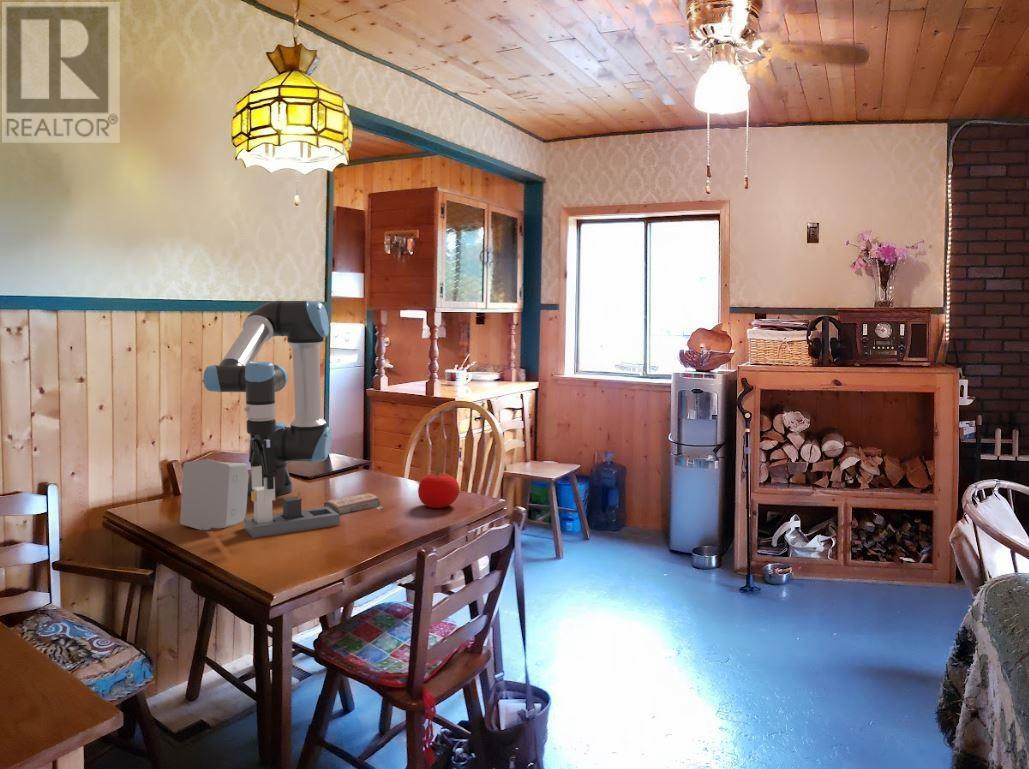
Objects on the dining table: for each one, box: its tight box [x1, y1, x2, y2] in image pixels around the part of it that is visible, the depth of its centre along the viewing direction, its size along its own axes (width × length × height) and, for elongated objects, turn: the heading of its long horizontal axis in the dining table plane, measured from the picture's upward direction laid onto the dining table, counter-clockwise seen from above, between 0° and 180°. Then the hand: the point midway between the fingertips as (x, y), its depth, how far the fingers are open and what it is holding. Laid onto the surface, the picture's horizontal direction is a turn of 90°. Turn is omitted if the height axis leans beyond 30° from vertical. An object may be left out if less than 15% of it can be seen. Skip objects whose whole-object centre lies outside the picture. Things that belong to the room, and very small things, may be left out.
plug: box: [250, 486, 273, 524], centre depth 208 cm, size 4×5×12 cm
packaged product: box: [323, 492, 385, 515], centre depth 233 cm, size 18×5×10 cm
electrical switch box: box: [179, 458, 249, 531], centre depth 220 cm, size 15×15×20 cm
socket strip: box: [243, 506, 341, 539], centre depth 213 cm, size 10×24×4 cm, turn 123°
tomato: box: [417, 472, 460, 509], centre depth 240 cm, size 12×13×11 cm
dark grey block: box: [282, 496, 302, 520], centre depth 213 cm, size 4×4×8 cm
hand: (263, 494), depth 209 cm, fingers open, 13 cm apart
